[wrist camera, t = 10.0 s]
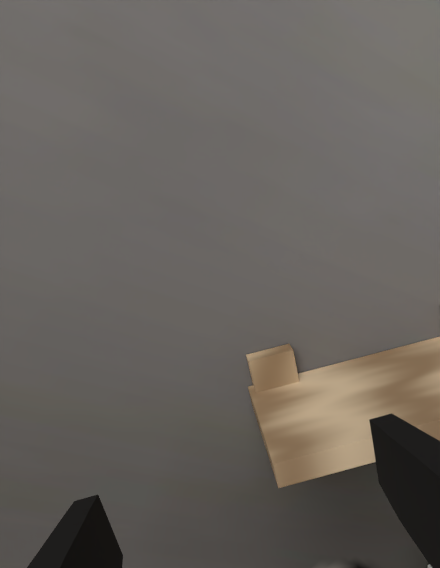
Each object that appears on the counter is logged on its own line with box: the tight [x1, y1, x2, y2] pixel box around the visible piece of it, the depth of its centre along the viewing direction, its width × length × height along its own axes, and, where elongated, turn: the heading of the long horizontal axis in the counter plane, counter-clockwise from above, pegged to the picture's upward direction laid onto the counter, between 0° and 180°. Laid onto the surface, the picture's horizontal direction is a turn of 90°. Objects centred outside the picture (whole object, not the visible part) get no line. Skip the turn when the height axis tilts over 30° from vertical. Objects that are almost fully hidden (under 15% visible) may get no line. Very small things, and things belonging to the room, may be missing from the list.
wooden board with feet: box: [246, 337, 440, 488], centre depth 18 cm, size 14×5×6 cm, turn 103°
